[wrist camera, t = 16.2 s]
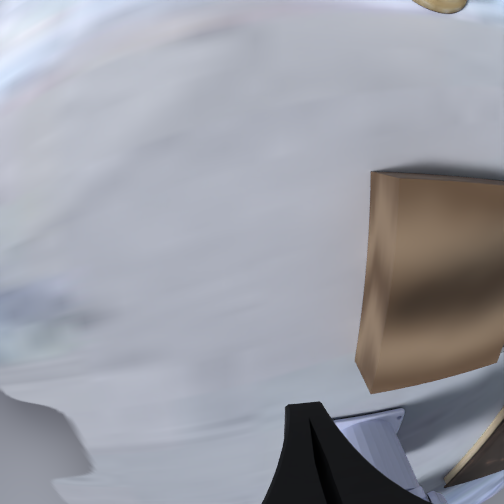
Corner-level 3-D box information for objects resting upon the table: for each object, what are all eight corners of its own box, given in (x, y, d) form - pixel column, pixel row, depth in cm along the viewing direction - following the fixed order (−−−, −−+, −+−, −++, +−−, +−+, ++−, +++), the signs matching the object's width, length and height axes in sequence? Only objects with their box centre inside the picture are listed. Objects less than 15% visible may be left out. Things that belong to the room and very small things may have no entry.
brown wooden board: (473, 338, 23) (496, 362, 20) (354, 360, 23) (370, 394, 19) (501, 180, 19) (536, 189, 15) (370, 171, 19) (399, 178, 15)
